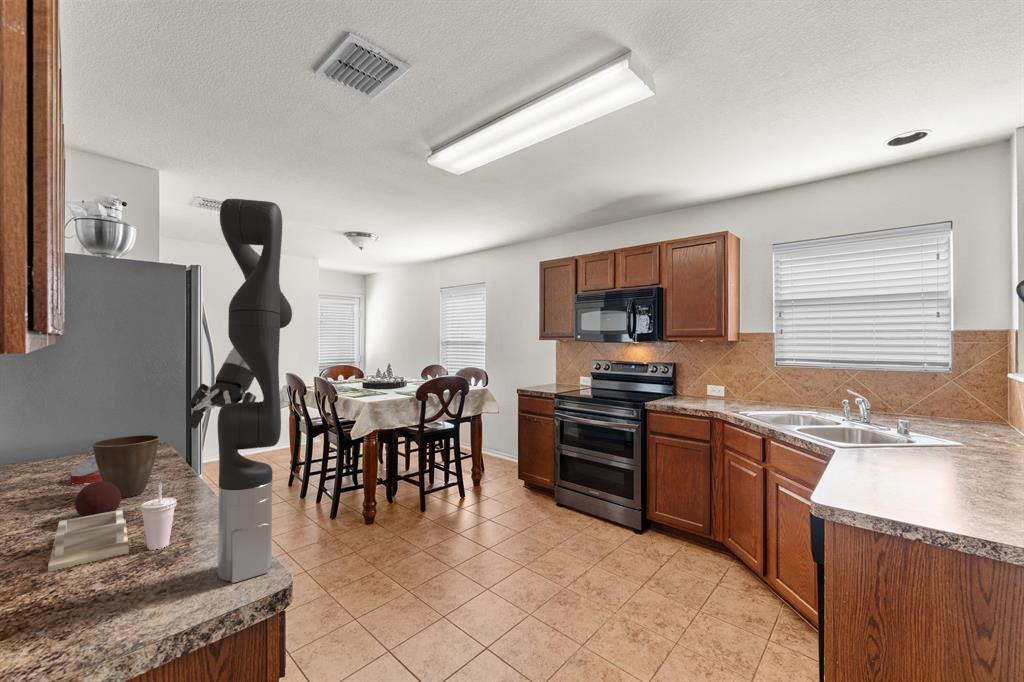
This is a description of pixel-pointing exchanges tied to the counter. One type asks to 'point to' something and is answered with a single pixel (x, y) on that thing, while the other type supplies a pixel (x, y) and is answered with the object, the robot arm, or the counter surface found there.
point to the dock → (89, 539)
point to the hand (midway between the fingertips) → (207, 430)
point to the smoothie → (158, 520)
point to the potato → (97, 499)
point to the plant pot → (127, 462)
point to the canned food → (85, 472)
